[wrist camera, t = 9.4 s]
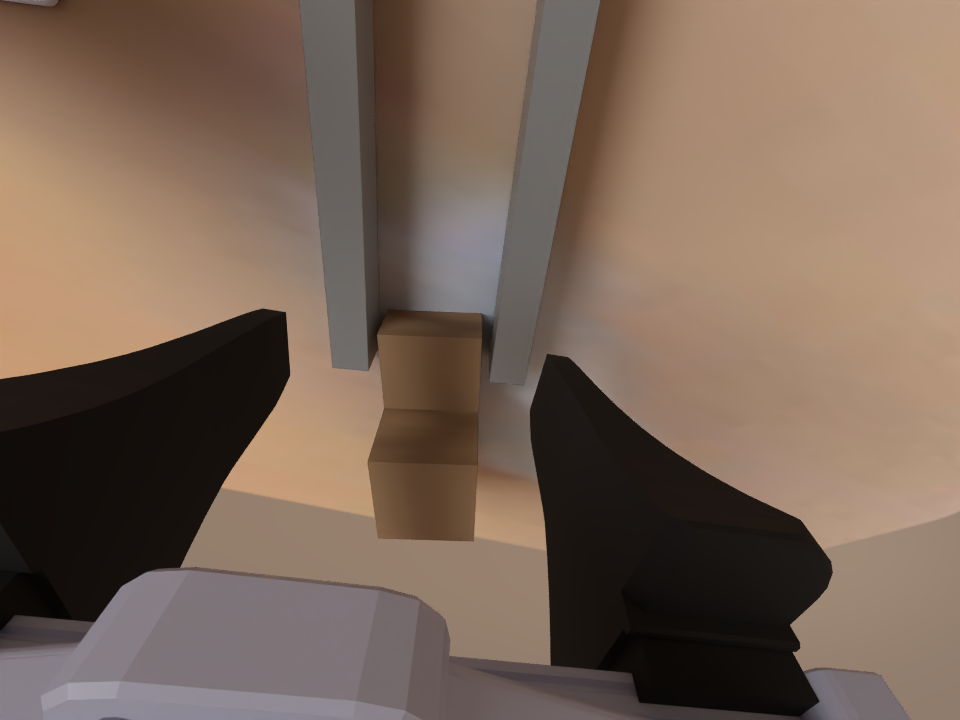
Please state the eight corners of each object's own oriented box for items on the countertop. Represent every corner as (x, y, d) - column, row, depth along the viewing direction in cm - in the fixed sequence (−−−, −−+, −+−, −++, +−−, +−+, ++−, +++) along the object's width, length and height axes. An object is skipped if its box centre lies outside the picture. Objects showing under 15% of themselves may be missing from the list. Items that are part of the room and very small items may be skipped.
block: (399, 448, 25) (378, 538, 20) (388, 309, 20) (356, 381, 15) (475, 451, 25) (473, 541, 20) (482, 313, 20) (481, 386, 15)
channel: (347, 340, 21) (332, 367, 19) (264, -930, 8) (178, -1332, 5) (520, 356, 22) (524, 385, 20) (735, -815, 8) (826, -1142, 6)
